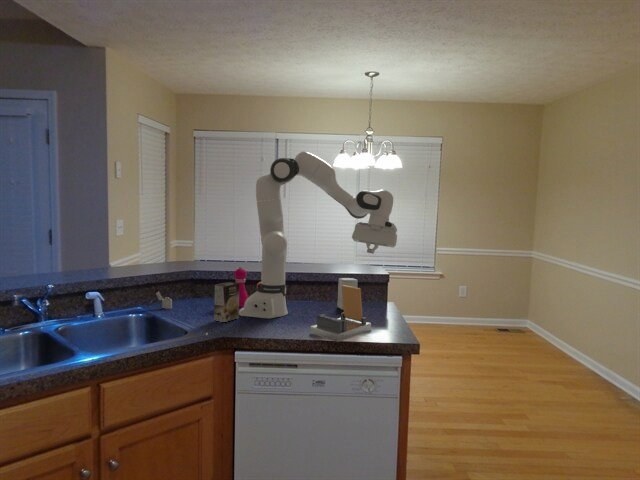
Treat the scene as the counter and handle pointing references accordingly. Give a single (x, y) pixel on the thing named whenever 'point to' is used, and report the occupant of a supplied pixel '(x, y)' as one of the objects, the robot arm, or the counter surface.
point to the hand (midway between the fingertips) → (370, 253)
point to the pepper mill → (241, 285)
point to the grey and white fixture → (339, 327)
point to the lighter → (165, 301)
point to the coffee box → (226, 302)
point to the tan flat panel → (352, 303)
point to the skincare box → (342, 281)
